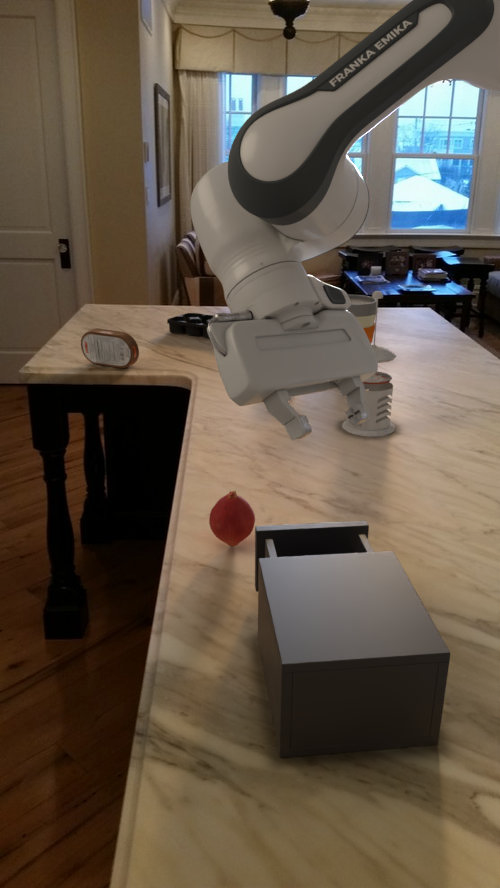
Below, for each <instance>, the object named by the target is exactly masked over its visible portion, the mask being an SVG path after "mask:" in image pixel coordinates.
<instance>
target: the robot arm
mask: <svg viewBox="0 0 500 888" xmlns="http://www.w3.org/2000/svg"><path fill="white" fill-rule="evenodd" d="M447 80H458V81H461V82H464V83H466V84H467V85H469V86H472V87H474V88H477V89H481V90H487V91H496V92H499V91H500V0H411V1H409V2H408V3H407V4H405V6H403V7H402V8H400V9H399V10H398V11H397V12H395V13H394V14H393V15H392V16H390V17H389V18H388V19H386V20H385V21H384V22H383V23H381V24H380V25H379V26H377V27H376V28H375V29H374V30H373V31H371V32H370V33H369V34H368V35H367V36H365V38H363V39H362V40H360V41H359V42H358V43H357V44H355V45H354V46H353V47H352V48H351V49H349V50H348V51H347V52H346V53H344V54H343V55H342V56H341V57H339V58H338V59H337V60H336V61H334V62H333V63H332V64H330V66H328V67H327V68H326V69H325V70H323V71H322V72H321V73H319V75H317V76H315V77H314V78H313V79H312V80H310V81H309V82H307V83H306V84H304V85H303V86H301V87H299V88H297V89H296V90H294V91H292V92H290V93H288V94H286V95H283V96H281V97H280V98H277V99H275V100H272V101H271V102H269V103H267V104H265V105H263V106H262V107H260V108H259V109H257V110H256V111H254V112H253V113H252V114H251V115H250V116H249V117H248V118H247V119H246V120H245V121H244V123H243V124H242V125H241V127H240V128H239V130H238V132H237V133H236V135H235V137H234V138H233V141H232V144H231V146H230V149H229V154H228V159H227V161H224V162H222V163H219V164H217V165H215V166H214V167H212V168H210V169H209V170H208V171H207V172H205V174H203V175H202V177H200V179H199V180H198V181H197V183H196V185H195V186H194V188H193V190H192V193H191V196H190V204H189V208H190V209H189V210H190V211H189V213H190V217H191V223H192V226H193V228H194V232H195V235H196V238H197V240H198V243H199V245H200V248H201V250H202V253H203V256H204V258H205V260H206V262H207V264H208V267H209V269H210V270H211V272H212V273H213V274H214V276H215V277H216V278H217V279H218V280H219V282H220V284H221V287H222V289H223V297H224V300H225V303H226V305H227V308H228V310H229V313H227V312H218V313H215V314H214V316H213V318H212V319H211V320H210V321H209V323H208V327H207V332H208V335H209V337H210V338H209V340H210V342H211V344H212V346H213V354H214V359H215V361H216V366H217V369H218V372H219V376H220V378H221V381H222V384H223V386H224V390H225V391H226V394H227V396H228V397H229V399H230V400H231V401H232V402H234V404H236V405H237V406H238V407H245V406H250V405H256V404H261V403H263V404H264V406H265V408H266V411H267V412H268V413H269V414H270V415H271V416H272V417H273V418H274V419H275V420H277V421H278V422H279V424H281V425H282V426H284V428H285V430H286V432H287V434H288V436H289V438H290V440H292V441H297V440H300V439H304V438H306V437H307V436H308V435H311V434H312V433H313V428H312V425H311V424H310V423H309V419H308V417H307V415H306V414H304V415H300V414H299V413H298V411H297V410H296V409H295V408H294V407H293V405H292V404H291V403H290V401H291V400H292V398H295V397H299V396H304V395H311V394H316V393H321V392H326V391H331V390H337V389H338V390H339V391H340V393H341V395H342V397H346V401H347V406H348V408H349V409H346V410H345V411H344V413H345V415H346V418H347V419H348V418H349V422H350V424H352V425H356V424H361V423H363V422H365V421H366V420H368V419H369V418H370V413H369V411H368V409H367V407H366V405H365V403H364V402H365V391H366V390H365V387H364V384H363V381H365V380H367V379H368V378H369V377H371V376H372V375H374V374H375V373H376V372H378V368H379V363H378V360H377V357H376V354H375V352H374V350H373V347H372V345H373V344H372V343H370V341H369V339H368V337H367V335H366V333H365V331H364V329H363V327H362V325H361V324H360V322H359V321H358V319H357V318H356V317H355V316H354V315H353V314H352V313H351V312H349V311H346V310H347V309H348V308H349V307H350V306H351V301H350V298H349V297H348V295H349V294H348V293H347V291H345V290H344V289H343V288H340V287H337V286H334V285H331V284H329V283H326V282H324V281H322V280H320V279H318V278H317V277H315V276H313V275H312V274H308V273H307V271H306V269H305V267H304V266H303V264H302V262H307V261H309V260H312V259H314V258H317V257H320V256H322V255H324V254H326V253H328V252H330V251H333V250H335V249H337V248H339V247H341V246H343V245H344V244H346V243H348V242H349V241H350V240H352V239H353V238H354V237H355V236H356V235H357V233H358V232H360V230H361V228H362V226H363V225H364V223H365V221H366V219H367V217H368V214H369V209H370V191H369V188H368V184H367V182H366V180H365V179H364V177H363V175H362V174H361V173H360V171H359V169H358V168H357V166H356V165H355V163H354V162H353V161H352V159H351V158H350V157H349V155H348V153H349V152H350V150H351V149H352V147H353V146H354V145H355V143H357V142H358V141H359V140H360V139H361V138H362V137H364V136H365V135H366V134H367V133H369V132H370V131H371V130H373V129H374V128H375V127H376V126H377V125H379V124H380V123H381V122H382V121H384V120H385V119H387V118H388V117H389V116H390V115H392V113H394V112H396V110H398V109H399V108H400V107H401V106H403V105H404V104H406V103H407V102H408V101H409V100H411V99H412V98H413V97H414V96H415V95H417V94H418V93H419V92H421V91H422V90H424V89H425V88H427V87H429V86H431V85H434V84H435V83H438V82H442V81H447Z"/></svg>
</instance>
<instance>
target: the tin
mask: <svg viewBox="0 0 500 888" xmlns="http://www.w3.org/2000/svg"><path fill="white" fill-rule="evenodd" d="M80 348H81V353H82V355H83V356H84V358H85V360H87V361H89V362H90V363H91V364H93V365H97V366H104V367H111V368H117V369H126V368H128V367H130V366H133V365H135V364H136V363H137V361H138V360H139V356H140V349H139V345H138V343H137V340H135V338H134V337H133V336H132V335H130V334H129V333H128V332H125V331H119V330H113V329H106V328H98V327H95V328H92V329H90V330H88V331H86V332H85V333H84V334H83V335H82V336H81V338H80Z"/></svg>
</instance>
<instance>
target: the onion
mask: <svg viewBox="0 0 500 888" xmlns="http://www.w3.org/2000/svg"><path fill="white" fill-rule="evenodd" d="M208 519H209V522H208V523H209V527H210V530H211V532H212V533H213V535H214V536H215V537H216V538H217V539H218V540H219V541H221V542H222V543H224V544H226V545H228V546H229V547H236V546H238V545H239V544H240V543H241V542H243V541H245V540H246V539H247V538H249V536H250V535H251V534H252V532H253V531H254V529H255V523H256V515H255V512H254V509H253V507H252V506H251V505H250V502H248V501H247V500H246V499H245V498H244V497H242V496H240V495H239V494H238V493H237V490H235V489H232V490H230V491H229V492H228V493H226V494H225V495H223V496H221V497H220V498H219V499H218V500H217V501H216V503H215V504H214V505H213V506H212V508H211V510H210V513H209V518H208Z"/></svg>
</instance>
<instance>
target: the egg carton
mask: <svg viewBox="0 0 500 888" xmlns="http://www.w3.org/2000/svg"><path fill="white" fill-rule="evenodd" d="M214 315H215V314H214ZM214 315H213V314H207V313H206V314H205V313H199V312H187V313H183V314H179V315H175V316H173V317H170V318H167V320H166V324H168V329H169V332H170V333H173V334H186V335H188V336H193V337H201V336H203V338H207V339H210V337H209V335H208V332H207V327H208V323H209V321H210V320H211V319H212V318H213V316H214Z"/></svg>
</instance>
